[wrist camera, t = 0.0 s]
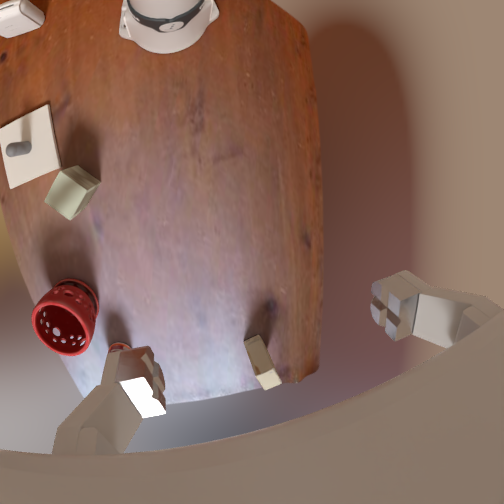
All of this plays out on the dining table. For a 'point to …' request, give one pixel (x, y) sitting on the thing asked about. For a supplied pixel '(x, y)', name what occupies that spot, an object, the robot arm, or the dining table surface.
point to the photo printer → (19, 18)
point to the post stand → (29, 147)
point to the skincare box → (262, 363)
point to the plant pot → (67, 316)
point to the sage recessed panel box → (72, 191)
